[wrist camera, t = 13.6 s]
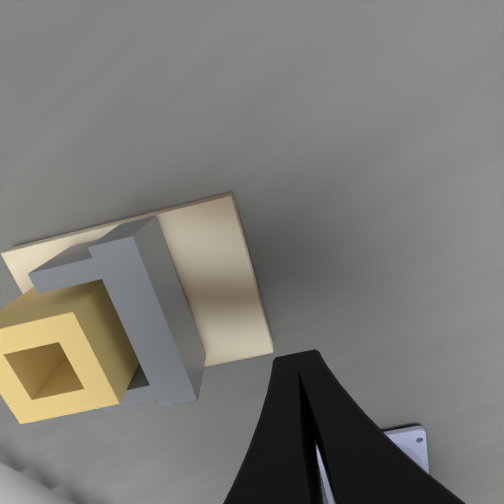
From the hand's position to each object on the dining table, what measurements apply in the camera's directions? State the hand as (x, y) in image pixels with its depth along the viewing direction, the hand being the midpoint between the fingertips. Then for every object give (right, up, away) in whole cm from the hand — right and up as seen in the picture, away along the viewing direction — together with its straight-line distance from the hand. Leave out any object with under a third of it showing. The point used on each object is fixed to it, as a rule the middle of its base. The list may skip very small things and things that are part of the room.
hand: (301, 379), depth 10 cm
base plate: (-8, +1, +10) cm, 13 cm away
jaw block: (-11, 0, +9) cm, 14 cm away
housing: (-8, +1, +9) cm, 12 cm away
